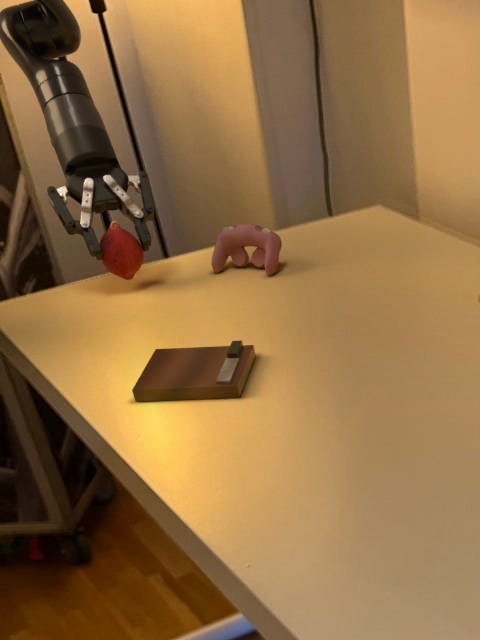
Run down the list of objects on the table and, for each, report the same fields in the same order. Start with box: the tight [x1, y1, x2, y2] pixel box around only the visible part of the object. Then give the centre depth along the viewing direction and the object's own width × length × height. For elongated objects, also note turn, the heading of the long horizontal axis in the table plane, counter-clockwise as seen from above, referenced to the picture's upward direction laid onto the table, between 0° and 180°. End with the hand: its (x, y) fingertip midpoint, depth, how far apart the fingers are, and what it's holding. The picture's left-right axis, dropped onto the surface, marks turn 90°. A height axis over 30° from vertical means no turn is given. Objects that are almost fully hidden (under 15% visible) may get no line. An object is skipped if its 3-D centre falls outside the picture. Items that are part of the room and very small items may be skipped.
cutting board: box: [131, 340, 257, 403], centre depth 115 cm, size 12×11×2 cm
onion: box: [99, 220, 145, 281], centre depth 137 cm, size 6×6×8 cm
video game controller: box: [211, 223, 283, 276], centre depth 142 cm, size 10×5×7 cm, turn 76°
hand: (123, 252), depth 135 cm, fingers closed on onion, 5 cm apart
